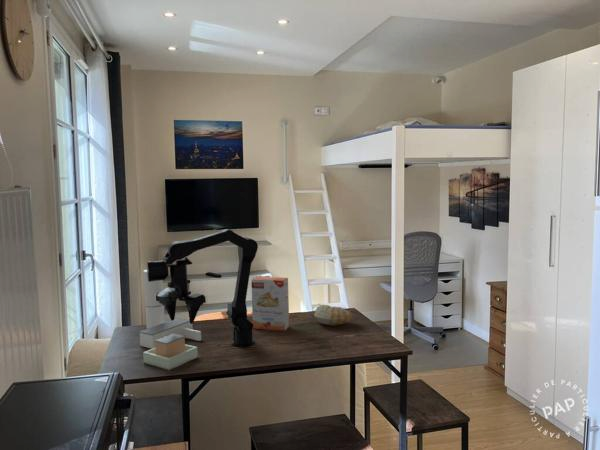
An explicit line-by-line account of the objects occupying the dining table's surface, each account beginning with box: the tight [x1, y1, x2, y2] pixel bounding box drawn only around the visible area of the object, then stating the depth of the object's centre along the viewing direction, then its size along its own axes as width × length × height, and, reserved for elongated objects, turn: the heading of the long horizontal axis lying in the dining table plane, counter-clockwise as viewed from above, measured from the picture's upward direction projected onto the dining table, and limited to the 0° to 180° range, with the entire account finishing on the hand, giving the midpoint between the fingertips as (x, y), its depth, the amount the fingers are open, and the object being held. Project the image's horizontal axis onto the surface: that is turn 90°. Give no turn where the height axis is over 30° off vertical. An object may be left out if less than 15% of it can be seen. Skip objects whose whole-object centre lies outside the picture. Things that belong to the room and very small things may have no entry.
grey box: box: [155, 334, 186, 358], centre depth 158 cm, size 6×8×7 cm
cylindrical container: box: [142, 269, 166, 329], centre depth 190 cm, size 7×7×25 cm
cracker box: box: [251, 275, 290, 332], centre depth 189 cm, size 14×6×21 cm, turn 73°
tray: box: [142, 343, 199, 371], centre depth 159 cm, size 13×13×4 cm
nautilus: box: [313, 303, 353, 327], centre depth 196 cm, size 8×22×15 cm
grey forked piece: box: [138, 317, 202, 349], centre depth 177 cm, size 16×20×5 cm
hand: (182, 321), depth 163 cm, fingers open, 9 cm apart
